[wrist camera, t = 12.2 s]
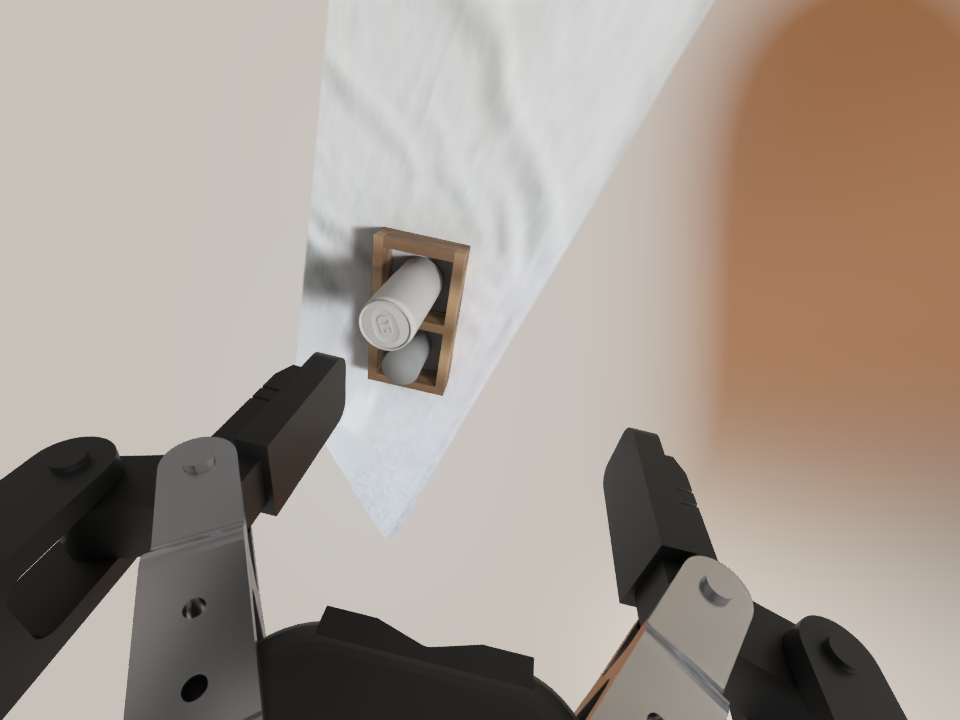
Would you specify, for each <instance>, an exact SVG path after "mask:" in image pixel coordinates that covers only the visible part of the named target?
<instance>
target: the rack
mask: <svg viewBox="0 0 960 720" xmlns="http://www.w3.org/2000/svg"><path fill="white" fill-rule="evenodd" d="M392 249H395V250H399V251H404V252H408V253H413V254H417V255H422V256H426V257H431V258H435V259H440V260H444V261H449V262H453V270H452V276H451V283H450V290H449V297H448V304H447V310H446V313H441V312H437V311H433V310H429V312H428V314H427V315H426V317H425V319H424V320H423V322H422V324H421V325H420V327H419V329H421V330H425V331H430V332H434V333H438V334H443V338H442V344H441V351H440V358H439V365H438V372H434V371H430V370H425V369H421V371H420V373H419V375H418V377H417V379H416V380H415V381H414V382H412V383H410V384H407V385H401V384H396V383H394V382H392V381H391V380H389V379H388V378H387V377H386V376H385V374H384V373H383V370H382V361H383V359H384V357H385V354H386V351H385V350H382V349H379V348H377V347H375V346H373V345H372V344H370V343H369V360H368V379H372V380H376V381H381V382H385V383H389V384H394V385H398V386H402V387H407V388H411V389H415V390H420V391H424V392H428V393H433V394H437V395H441V396H443V393H444V391H445V388H446V385H447V383H448V378H449V372H450V366H451V360H452V354H453V348H454V342H455V336H456V330H457V324H458V318H459V312H460V305H461V299H462V293H463V287H464V281H465V275H466V269H467V263H468V257H469V251H470V246H468V245H464V244H459V243H454V242H450V241H445V240H441V239H436V238H432V237H427V236H423V235H418V234H413V233H409V232H404V231H400V230H395V229H391V228H386V227H383V228H382V229H380V230H379V231H378V232H376V233H375V234H373V256H372V282H371V297H372V296H373V295H374V294H375V293H376V292H377V291H378V290H379V289H380V288H381V287H382V286H383V285H384V284H385V282H386V281H387V280H388V279H389V278H390V276H391V261H392Z"/></svg>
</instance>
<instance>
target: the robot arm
mask: <svg viewBox="0 0 960 720" xmlns="http://www.w3.org/2000/svg"><path fill="white" fill-rule="evenodd" d="M345 375H346V364H345V360H344V359H343V358H340V357H336V356H332V355H327V354H323V353H319V352H316V353H314V354H313V355H312V356H311V357H310V358H309V359H308V360H307V361H306V362H305V363H304V365H303V366H302V367H299V366H295V365H292V366H290V367H288V368H286V369H284V370H282V371H280V372H278V373H276V374H275V375H273V376H272V377H271V378H270V379H269V380H268V381H267V382H266V383H265V384H264V385H263V388H260V389H259V390H258V391H257V392H256V393H255V394H254V395H253V398H250V399H249V400H248V401H247V402H246V403H245V404H244V405H243V406H242V407H241V408H240V409H239V410H238V411H237V412H236V413H235V414H234V415H233V416H232V417H231V418H230V419H229V420H228V421H227V422H226V423H225V424H224V425H223V426H222V427H221V428H220V429H219V430H218V431H217V432H216V433H215V434H214V435H212V436H211V437H201V438H196V439H192V440H189V441H186V442H183V443H181V444H179V445H177V446H176V447H174V448H172V449H171V450H170V451H168V452H167V453H166V454H165V455H152V456H119V454H118V451H117V449H116V447H115V445H114V444H113V443H112V442H111V441H109V440H107V439H104V438H100V437H79V438H74V439H69V440H66V441H62V442H59V443H56V444H54V445H52V446H50V447H47V448H45V449H43V450H42V451H40V452H38V453H37V454H36V455H34V456H33V457H31V458H30V459H28V460H27V461H26V462H24V463H23V464H22V465H20V466H19V467H18V468H16V469H15V470H14V471H12V472H11V473H9V474H8V475H7V476H5V477H4V478H3V479H1V480H0V720H2V719H3V718H4V717H5V716H6V714H7V713H8V712H9V711H10V710H11V709H12V707H13V706H14V705H15V704H16V703H17V701H18V700H19V699H20V698H21V696H22V695H23V694H24V693H25V692H26V690H27V689H28V688H29V687H30V686H31V684H32V683H33V682H34V681H35V680H36V678H37V677H38V676H39V675H40V673H41V672H42V671H43V670H44V669H45V668H46V666H47V665H48V664H49V663H50V662H51V660H52V659H53V658H54V657H55V656H56V654H57V653H58V652H59V651H60V649H61V648H62V647H63V646H64V645H65V644H66V642H67V641H68V640H69V639H70V638H71V636H72V635H73V634H74V633H75V632H76V630H77V629H78V628H79V627H80V626H81V624H82V623H83V622H84V621H85V620H86V618H87V617H88V616H89V614H91V612H92V611H93V610H94V609H95V607H96V606H97V605H98V604H99V603H100V601H101V600H102V599H103V598H104V597H105V595H106V594H107V593H108V592H109V591H110V589H111V588H112V587H113V586H114V585H115V583H116V582H117V581H118V580H119V579H120V577H121V576H122V575H123V574H124V573H125V571H126V570H127V569H128V568H129V567H130V565H131V564H132V563H133V562H134V560H135V559H136V558H137V557H140V556H141V559H140V562H139V568H138V577H137V587H136V597H135V608H134V618H133V628H132V639H131V650H130V660H129V670H128V680H127V690H126V700H125V710H124V720H726V719H727V716H728V712H729V708H730V712H731V715H732V719H733V720H907V718H906V716H905V714H904V712H903V711H902V709H901V707H900V705H899V703H898V701H897V699H896V698H895V696H894V694H893V692H892V690H891V688H890V686H889V685H888V683H887V681H886V679H885V677H884V675H883V673H882V672H881V670H880V668H879V666H878V664H877V663H876V661H875V659H874V658H873V657H872V655H871V654H870V653H869V651H868V650H867V649H866V648H865V647H864V646H863V644H861V642H859V641H858V639H856V638H855V637H854V636H853V635H852V634H851V633H849V632H848V631H847V630H846V629H844V628H843V627H841V626H840V625H838V624H837V623H835V622H833V621H831V620H829V619H826V618H824V617H820V616H807V617H805V618H803V619H802V620H801V621H799V622H798V623H797V624H794V623H792V622H790V621H788V620H787V619H785V618H783V617H781V616H779V615H777V614H775V613H773V612H771V611H770V610H768V609H766V608H764V607H762V606H760V605H759V604H757V603H755V602H753V601H752V598H751V596H750V594H749V592H748V590H747V588H746V587H745V585H744V584H743V582H742V581H741V580H740V579H739V578H738V576H736V574H735V573H734V572H732V571H731V570H730V569H729V568H727V567H726V566H725V565H723V564H722V563H720V562H718V560H717V558H716V554H715V552H714V549H713V546H712V544H711V541H710V538H709V535H708V533H707V530H706V527H705V525H704V522H703V519H702V516H701V514H700V511H699V509H698V508H697V503H696V500H695V497H694V494H692V493H691V492H692V489H691V486H690V484H689V481H688V478H687V475H686V473H685V472H684V471H683V469H682V468H681V467H680V466H679V464H678V463H677V462H676V460H675V459H674V458H673V457H670V456H666V455H664V451H663V448H662V445H661V442H660V439H659V437H658V435H657V434H654V433H650V432H646V431H642V430H638V429H633V428H627V429H626V430H625V431H624V433H623V435H622V437H621V439H620V441H619V443H618V445H617V447H616V449H615V451H614V453H613V454H612V456H611V459H610V461H609V462H608V464H607V467H606V470H605V474H604V481H603V485H604V486H603V487H604V494H605V501H606V509H607V515H608V523H609V530H610V536H611V545H612V552H613V559H614V566H615V572H616V580H617V587H618V595H619V601H620V603H622V604H626V605H630V606H634V607H637V611H638V617H639V619H638V620H637V622H636V623H635V624H634V625H633V627H632V629H631V630H630V632H629V633H628V635H627V636H626V638H625V639H624V641H623V642H622V644H621V645H620V647H619V649H618V650H617V651H616V653H615V655H614V656H613V658H612V659H611V661H610V662H609V664H608V665H607V667H606V668H605V670H604V671H603V673H602V674H601V676H600V678H599V679H598V681H597V682H596V684H595V685H594V686H593V688H592V689H591V691H590V692H589V693H588V695H587V696H586V697H585V699H584V700H583V701H582V703H581V704H580V706H579V707H578V708H577V710H576V711H575V713H574V712H573V711H572V710H571V709H570V707H569V706H568V705H567V704H566V703H565V701H564V700H563V699H562V698H561V697H560V696H559V695H558V694H557V693H556V692H555V691H554V690H553V689H552V688H550V687H549V686H548V685H547V684H545V683H544V682H542V681H541V680H540V679H538V678H537V677H535V676H533V668H534V658H533V657H529V656H525V655H521V654H517V653H513V652H509V651H505V650H501V649H497V648H493V647H489V646H486V645H468V646H449V647H426V646H423V645H421V644H419V643H418V642H416V641H415V640H413V639H411V638H409V637H408V636H406V635H404V634H403V633H401V632H400V631H398V630H396V629H395V628H393V627H391V626H390V625H388V624H386V623H385V622H383V621H381V620H380V619H378V618H374V617H370V616H366V615H363V614H359V613H355V612H350V611H347V610H343V609H339V608H335V607H331V606H327V607H326V609H325V612H324V614H323V616H322V618H321V620H320V621H318V622H308V623H303V624H297V625H294V626H291V627H288V628H284V629H282V630H280V631H277V632H275V633H273V634H270V635H268V636H267V637H266V634H265V627H264V621H263V614H262V608H261V601H260V593H259V585H258V576H257V569H256V559H255V551H254V543H253V535H252V527H251V525H252V524H253V522H254V521H255V519H256V518H257V516H258V515H259V514H260V512H262V513H266V514H270V515H274V516H277V515H278V513H279V512H280V510H281V509H282V507H283V506H284V504H285V503H286V501H287V500H288V498H289V497H290V495H291V494H292V492H293V490H294V489H295V487H296V486H297V484H298V483H299V481H300V480H301V478H302V477H303V475H304V474H305V472H306V471H307V469H308V468H309V466H310V465H311V463H312V461H313V460H314V459H315V457H316V456H317V454H318V452H319V451H320V449H321V448H322V447H323V445H324V444H325V442H326V441H327V439H328V438H329V436H330V435H331V433H332V432H333V430H334V428H335V427H336V425H337V424H338V422H339V421H340V419H341V416H342V414H343V410H344V406H345ZM58 540H59V541H58ZM57 541H58V542H57ZM56 542H57V543H56ZM55 543H56V544H55ZM54 544H55V545H54ZM53 545H54V546H53ZM52 546H53V547H52ZM50 547H52V548H51V549H50ZM49 549H50V550H49ZM47 550H49V551H48V552H47V553H46V554H45V555H43V554H44V553H45V552H46V551H47ZM42 555H43V557H42V558H40V557H41V556H42ZM39 558H40V559H39ZM38 559H39V560H38ZM37 560H38V561H37ZM36 561H37V562H36ZM35 562H36V563H35ZM34 563H35V564H34ZM33 564H34V565H33ZM32 565H33V566H32ZM31 566H32V567H31ZM30 567H31V568H30ZM29 568H30V569H29ZM28 569H29V570H28ZM26 570H28V571H27V572H26ZM25 572H26V573H25ZM24 573H25V574H24ZM22 574H24V575H23V576H22V577H21V575H22ZM20 577H21V578H20ZM19 578H20V579H19ZM18 579H19V580H18ZM17 580H18V581H17Z"/></svg>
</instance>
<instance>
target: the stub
mask: <svg viewBox="0 0 960 720" xmlns="http://www.w3.org/2000/svg"><path fill="white" fill-rule="evenodd" d="M431 349H432V339H431V337H430V335H429V334H428V333H427V332H426V331H425V330H421V329H418V330H417V332H416V334H415V335H414V337H413V339H412V340H411V341H410V342H409V343H408V344H406V345H405V346H404V347H402V348H401V349H399V350H394V351H388V353H387V354H386V356H385V357H384V359H383V361H382V370H383V373H384V374H385V376H386V377H387V378H388V379H389V380H391V381H392V382H394V383H396V384H401V385H407V384H410V383H412V382H414V381H415V380H416V379H417V377H418V375H419V373H420V371H421V369H422V367H423V365H424V363H425V361H426V359H427V357H428V355H429V353H430V351H431Z"/></svg>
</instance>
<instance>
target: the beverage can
mask: <svg viewBox="0 0 960 720" xmlns="http://www.w3.org/2000/svg"><path fill="white" fill-rule="evenodd" d="M442 288H443V276H442V274H441V271H440V270H439V268H438V267H437V266H436V265H435V264H434V263H433V262H432V261H430V260H429V259H426V258H423V257H415V258H411V259H409V260H408V261H406V262H405V263H404V264H403V265H402V266H401V267H400V268H399V269H398V270H397V271H396V272H395V273H394V274H393V275H392V276H391V277H390V278H389V279H388V280H387V281H386V282H385V284H384V285H383V286H382V287H381V288H380V289H379V290H378V291H377V292H376V293H375V294H374V295H373V296H372V297H371V298H370V299H369V300H368V301H367V302H366V304H365V305H364V306H363V308H362V310H361V313H360V315H359V322H358V323H359V328H360V331H361V333H362V335H363V336H364V338H365V339H366V340H367V341H368V342H369V343H370V344H372V345H373V346H375V347H377V348H379V349H382V350H385V351H394V350H399V349H401V348H402V347H404V346H405V345H406V344H408V343H409V342H410V341H411V340H412V339H413V337H414V335H415V334H416V332H417V330H418V329H419V327H420V325H421V324H422V322H423V320H424V319H425V317H426V315H427V314H428V312H429V310H430V309H431V307H432V305H433V304H434V302H435V300H436V299H437V297H438V295H439V294H440V292H441V290H442Z"/></svg>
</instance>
